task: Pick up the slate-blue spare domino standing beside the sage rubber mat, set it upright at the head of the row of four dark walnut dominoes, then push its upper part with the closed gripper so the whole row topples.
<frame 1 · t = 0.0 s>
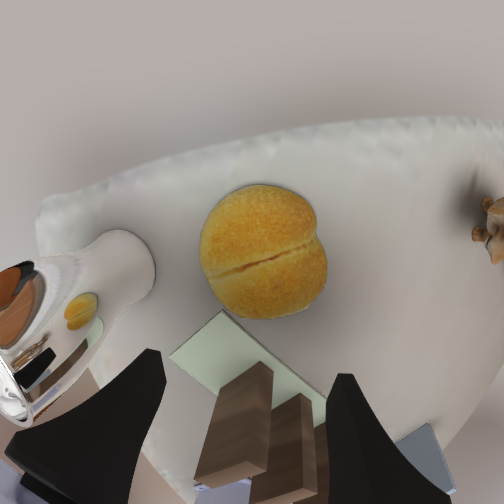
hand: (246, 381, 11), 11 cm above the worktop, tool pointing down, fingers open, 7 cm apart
domino 3: (317, 431, 25), resting on mat
lion figurine: (493, 241, 18), on the worktop
domino 4: (284, 409, 24), resting on mat
mat: (305, 421, 25), on the worktop
bread roll: (265, 250, 21), on the worktop
beer glass: (123, 265, 22), on the worktop
domino 5: (246, 380, 23), resting on mat
domino 1: (411, 437, 25), on the worktop
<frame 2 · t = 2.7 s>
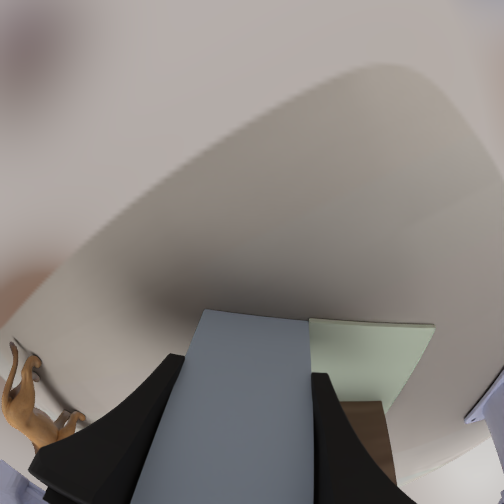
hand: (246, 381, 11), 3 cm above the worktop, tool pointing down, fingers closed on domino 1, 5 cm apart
lion figurine: (64, 396, 22), on the worktop
mat: (316, 449, 19), on the worktop
domino 1: (254, 328, 14), on the worktop, touching gripper
domino 2: (341, 408, 16), resting on mat
when the fingers open (4 cm above the worktop, at t = 6.2 s): domino 1 stays where it is, resting on mat.
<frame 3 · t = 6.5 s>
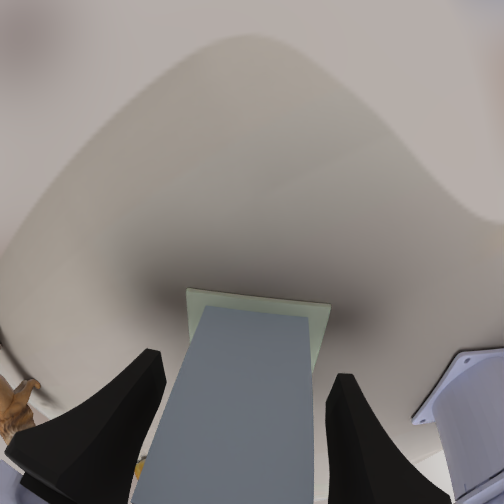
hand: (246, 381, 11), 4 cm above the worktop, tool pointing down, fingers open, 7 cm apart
lion figurine: (22, 364, 22), on the worktop
mat: (244, 435, 20), on the worktop
domino 1: (255, 324, 14), resting on mat
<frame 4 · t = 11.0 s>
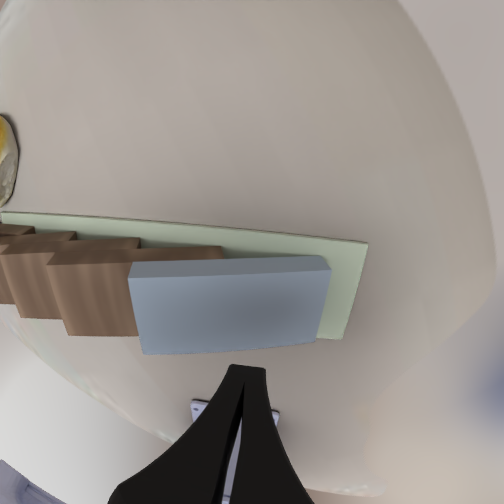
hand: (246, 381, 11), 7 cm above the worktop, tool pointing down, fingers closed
domino 3: (142, 279, 17), point 1 cm above the worktop, tilted 72°, touching domino 2, domino 4, mat
domino 4: (79, 269, 17), point 1 cm above the worktop, tilted 71°, touching domino 3, domino 5
mat: (135, 269, 18), on the worktop
domino 5: (34, 260, 18), point 1 cm above the worktop, tilted 90°, touching domino 4, mat
domino 1: (317, 300, 16), point 1 cm above the worktop, tilted 72°, touching domino 2, mat
domino 2: (222, 290, 17), point 1 cm above the worktop, tilted 72°, touching domino 1, domino 3, mat
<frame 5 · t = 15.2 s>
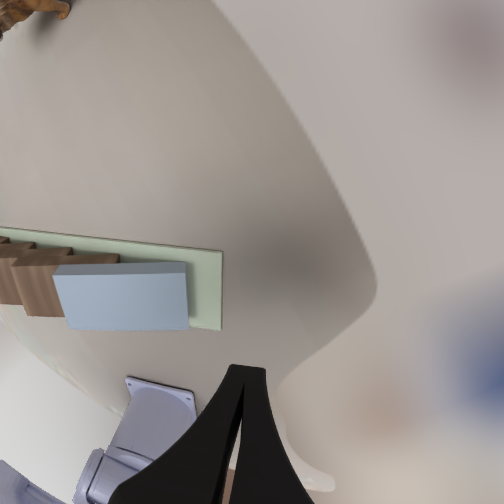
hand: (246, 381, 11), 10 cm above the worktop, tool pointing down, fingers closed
domino 3: (74, 277, 22), point 1 cm above the worktop, tilted 72°, touching domino 2, domino 4, mat
domino 4: (37, 269, 22), point 1 cm above the worktop, tilted 71°, touching domino 3, domino 5
mat: (73, 269, 23), on the worktop
domino 5: (10, 262, 22), point 1 cm above the worktop, tilted 90°, touching domino 4, mat
domino 1: (187, 296, 21), point 1 cm above the worktop, tilted 72°, touching domino 2, mat
domino 2: (122, 286, 21), point 1 cm above the worktop, tilted 72°, touching domino 1, domino 3, mat
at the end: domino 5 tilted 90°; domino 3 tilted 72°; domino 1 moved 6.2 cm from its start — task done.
